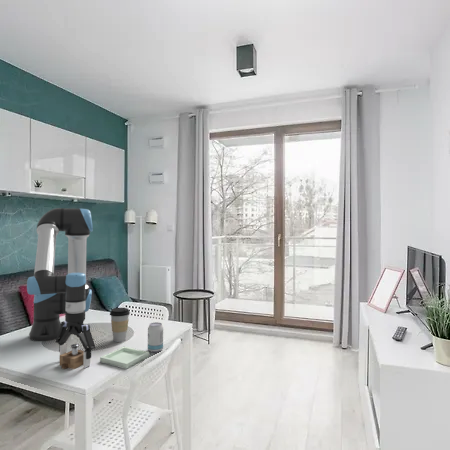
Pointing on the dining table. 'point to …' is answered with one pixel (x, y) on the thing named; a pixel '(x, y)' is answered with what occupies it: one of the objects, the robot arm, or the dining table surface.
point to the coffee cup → (119, 323)
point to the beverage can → (155, 337)
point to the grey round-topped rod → (74, 349)
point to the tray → (124, 357)
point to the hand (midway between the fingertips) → (74, 363)
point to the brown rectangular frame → (71, 360)
